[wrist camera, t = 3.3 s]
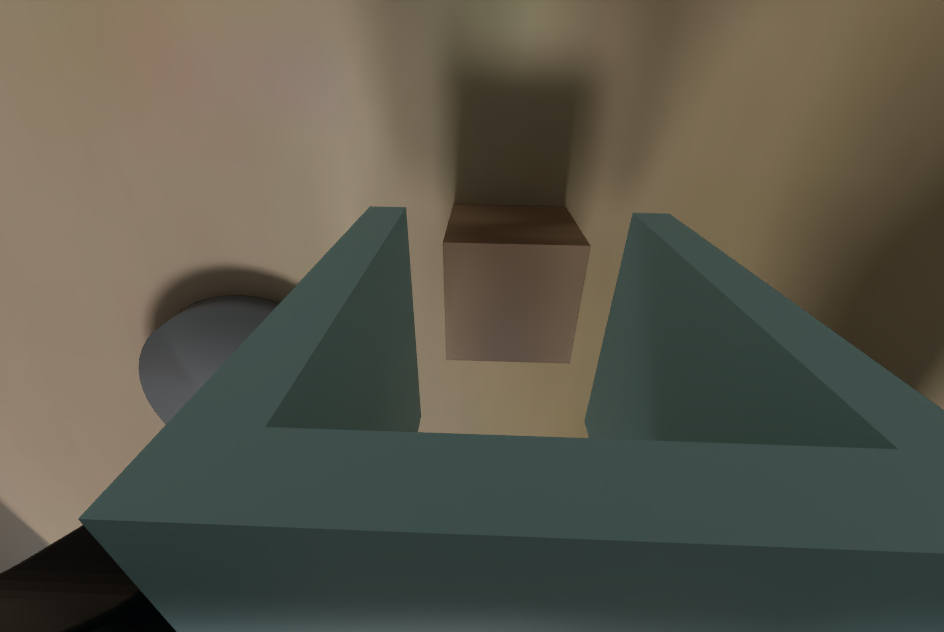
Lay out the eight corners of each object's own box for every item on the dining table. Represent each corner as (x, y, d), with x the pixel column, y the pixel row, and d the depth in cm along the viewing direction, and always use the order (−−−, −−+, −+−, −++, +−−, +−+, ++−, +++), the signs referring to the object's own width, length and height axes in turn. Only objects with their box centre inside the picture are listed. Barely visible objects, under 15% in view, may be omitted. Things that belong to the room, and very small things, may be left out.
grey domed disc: (357, 299, 16) (348, 314, 15) (382, 460, 21) (377, 479, 20) (120, 292, 16) (95, 306, 15) (202, 453, 21) (188, 471, 20)
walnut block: (565, 205, 14) (590, 245, 10) (551, 303, 16) (569, 363, 13) (453, 203, 14) (443, 242, 11) (454, 300, 16) (446, 359, 13)
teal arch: (669, 213, 8) (1157, 563, 2) (610, 422, 12) (747, 793, 6) (370, 206, 9) (76, 519, 2) (395, 414, 12) (297, 770, 6)
